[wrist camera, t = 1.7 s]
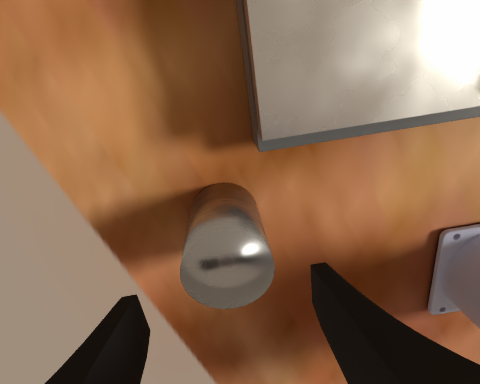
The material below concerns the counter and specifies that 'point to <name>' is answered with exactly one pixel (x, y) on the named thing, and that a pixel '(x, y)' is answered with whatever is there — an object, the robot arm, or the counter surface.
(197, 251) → the steel weight
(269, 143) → the scale
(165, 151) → the counter surface
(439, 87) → the scale pan
